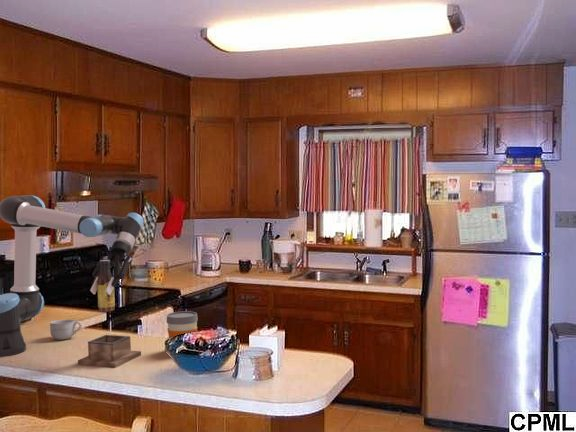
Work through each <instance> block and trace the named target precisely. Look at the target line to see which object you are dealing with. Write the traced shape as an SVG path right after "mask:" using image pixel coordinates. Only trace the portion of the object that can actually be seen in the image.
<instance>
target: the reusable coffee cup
mask: <svg viewBox="0 0 576 432" xmlns="http://www.w3.org/2000/svg"><path fill="white" fill-rule="evenodd" d="M198 317H199V316H198V313H197V312H195V311H189V310H187V311H184V310H183V311H182V310H181V311H175V312H170V313H168V314H166V324H167V327H168V328H167V335H168V339H169V338H171V337H174V336H176V335H179V334H184V333H189V332H194V331H197V332H198V326H197V325H198Z"/></svg>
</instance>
